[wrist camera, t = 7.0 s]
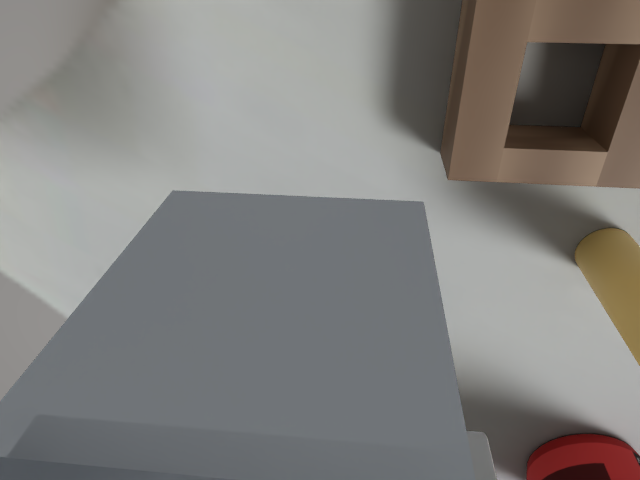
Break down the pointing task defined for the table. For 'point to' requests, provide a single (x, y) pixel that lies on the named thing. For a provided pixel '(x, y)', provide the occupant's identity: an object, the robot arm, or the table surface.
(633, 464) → the canned food
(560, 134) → the socket board
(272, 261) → the cover
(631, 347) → the peg
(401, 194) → the table surface
